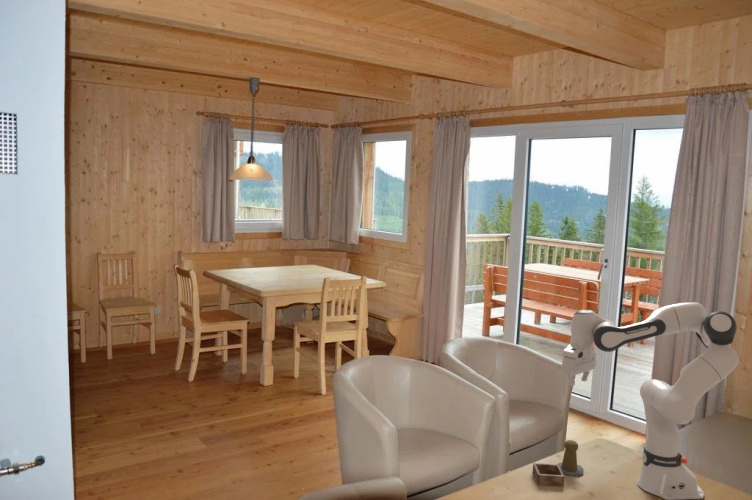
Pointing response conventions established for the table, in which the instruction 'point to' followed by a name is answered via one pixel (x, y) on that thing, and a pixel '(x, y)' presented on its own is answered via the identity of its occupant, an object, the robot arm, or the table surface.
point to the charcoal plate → (577, 473)
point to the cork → (570, 456)
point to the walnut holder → (548, 474)
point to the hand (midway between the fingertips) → (578, 383)
